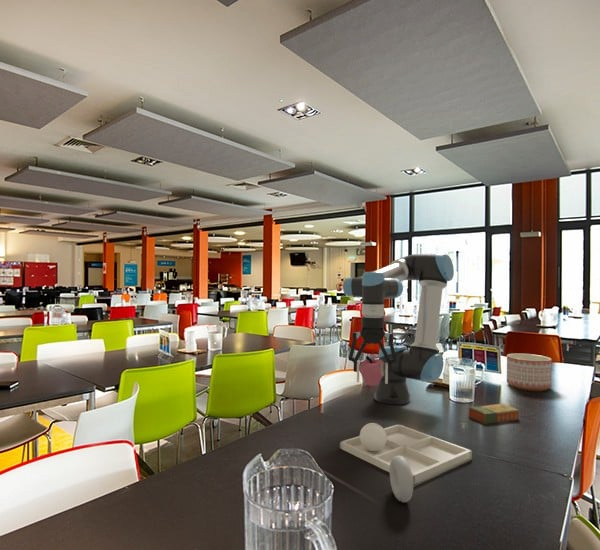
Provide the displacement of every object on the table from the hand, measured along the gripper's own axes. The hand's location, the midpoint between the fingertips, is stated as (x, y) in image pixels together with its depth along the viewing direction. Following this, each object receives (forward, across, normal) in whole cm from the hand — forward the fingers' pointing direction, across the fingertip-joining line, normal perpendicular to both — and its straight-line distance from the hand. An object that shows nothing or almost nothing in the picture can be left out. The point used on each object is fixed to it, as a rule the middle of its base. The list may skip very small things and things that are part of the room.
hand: (372, 381), depth 144 cm
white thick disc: (+17, +6, -45) cm, 48 cm away
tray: (+17, +9, -19) cm, 27 cm away
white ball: (+16, 0, -19) cm, 25 cm away
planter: (+16, +76, +74) cm, 108 cm away
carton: (+17, +46, +22) cm, 53 cm away
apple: (+1, 0, 0) cm, 1 cm away
